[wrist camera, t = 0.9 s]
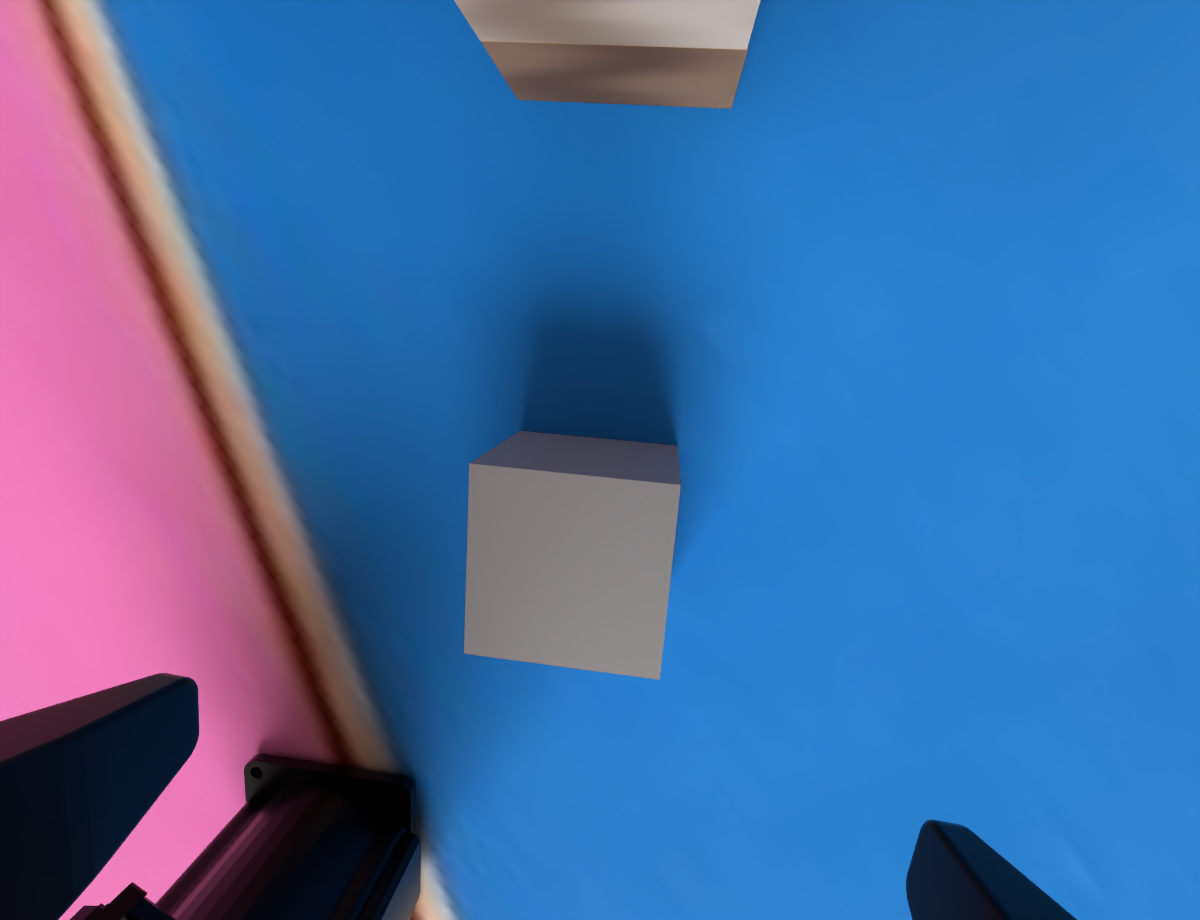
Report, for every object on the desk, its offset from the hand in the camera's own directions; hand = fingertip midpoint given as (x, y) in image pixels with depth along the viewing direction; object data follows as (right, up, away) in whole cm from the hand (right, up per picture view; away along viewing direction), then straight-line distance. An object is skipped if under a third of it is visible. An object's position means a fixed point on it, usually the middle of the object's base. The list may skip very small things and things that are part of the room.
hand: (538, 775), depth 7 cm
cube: (0, +2, +12) cm, 12 cm away
